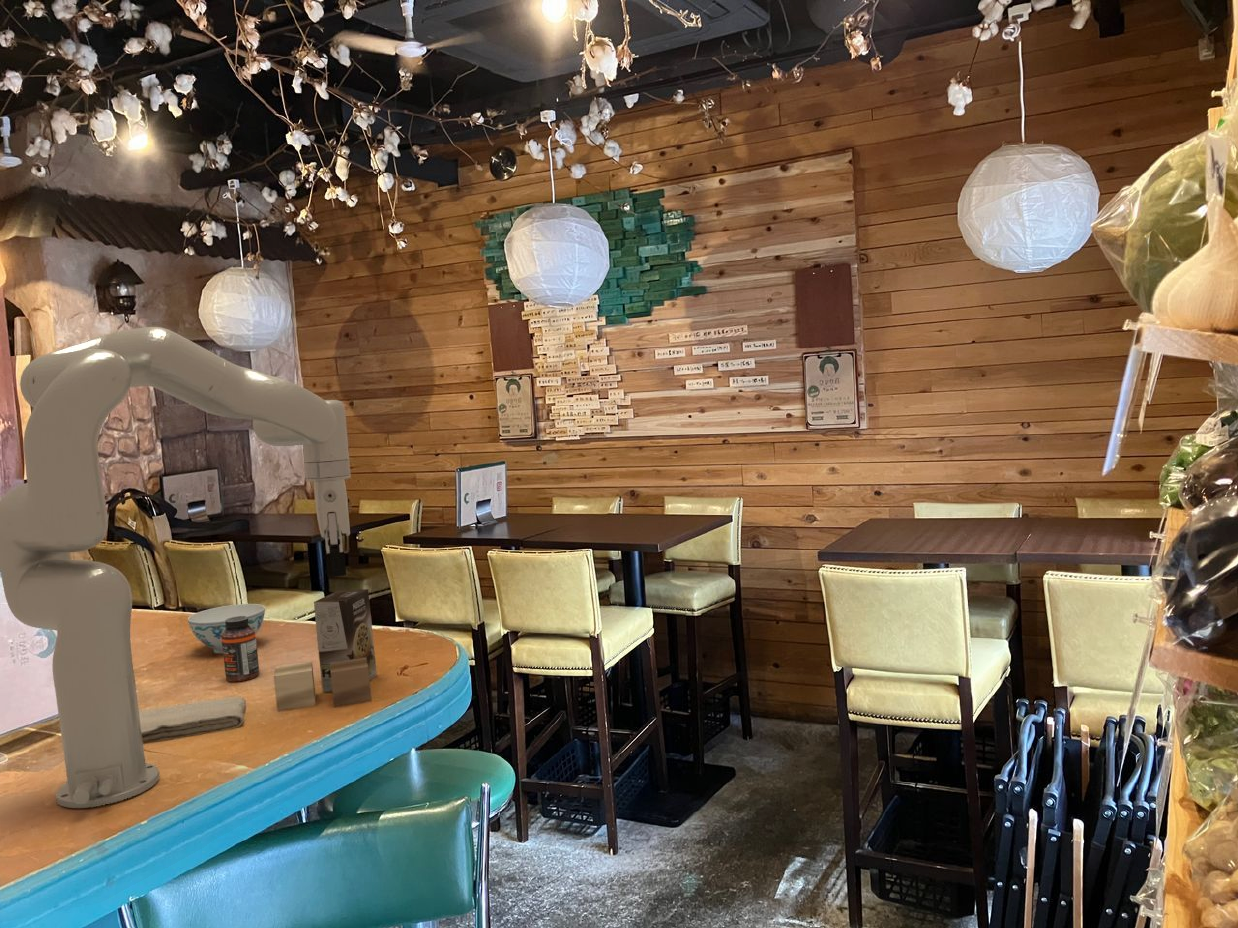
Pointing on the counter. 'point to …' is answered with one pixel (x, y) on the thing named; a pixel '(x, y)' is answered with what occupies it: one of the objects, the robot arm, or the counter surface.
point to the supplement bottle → (239, 650)
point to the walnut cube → (350, 682)
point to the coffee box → (344, 631)
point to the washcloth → (191, 718)
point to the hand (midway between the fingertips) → (336, 575)
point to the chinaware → (223, 622)
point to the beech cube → (294, 685)
